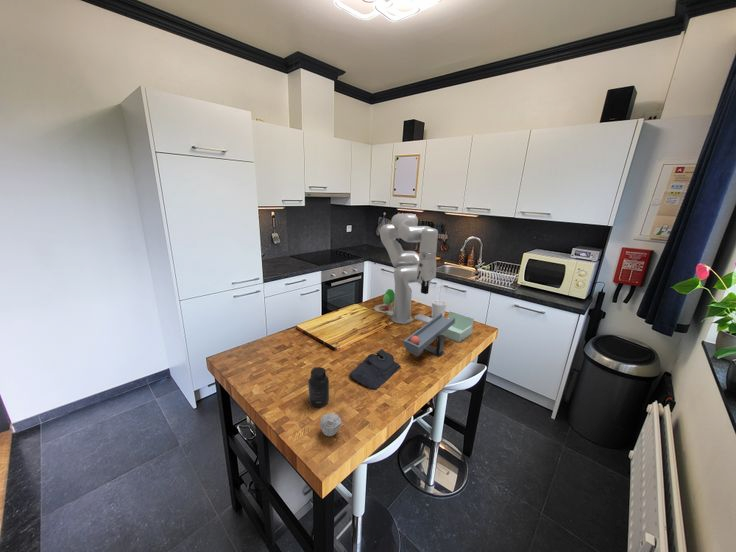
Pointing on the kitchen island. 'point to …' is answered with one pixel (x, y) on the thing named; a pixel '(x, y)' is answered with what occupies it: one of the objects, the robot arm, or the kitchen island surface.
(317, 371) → the supplement bottle
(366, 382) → the folded navy shirt
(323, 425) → the gray yarn ball
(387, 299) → the cactus trinket dish
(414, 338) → the ball
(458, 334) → the bin
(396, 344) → the kitchen island surface
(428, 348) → the lever stand
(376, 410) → the kitchen island surface
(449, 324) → the lever
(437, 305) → the white cup
